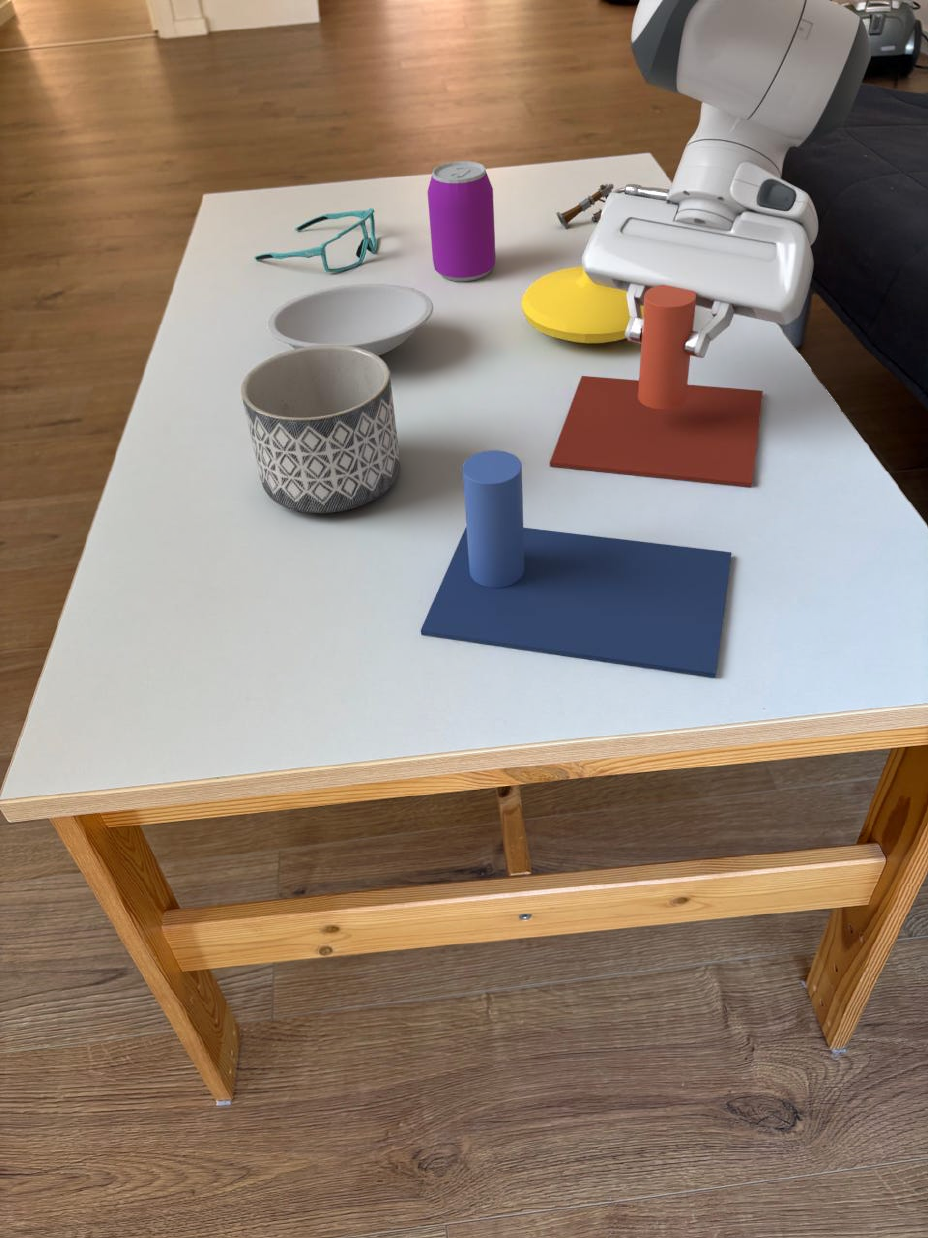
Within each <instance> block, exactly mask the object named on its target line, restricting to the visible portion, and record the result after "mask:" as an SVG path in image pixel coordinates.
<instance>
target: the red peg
mask: <svg viewBox="0 0 928 1238" xmlns="http://www.w3.org/2000/svg"><path fill="white" fill-rule="evenodd" d="M695 305H696V294H695V292H694V291H691V290H686V289H681V288H677V287H672V286H667V285H659V286H655V287H653V288H650V289H649V290H648V291H646V293H645V296H644V311H643V326H642V342H641V344H640V359H639V373H638V374H639V375H638V380H639V388H638V399H639V401H640V402H641V403H642V404H643V405H645V406H647V407H649V408H653V409H660V410H666V409H673V408H676V407H679V406H681V405H682V404H683V403H684V402H685V400H686V394H687V384H688V385H689V383H688V382H689V372H690V364H691V355H687V354H686V352H685V350H684V348H685V344H686V342H687V341H688V340H689V339H688V336H689V334H690V332H691V330H692V331H694V323H695V315H696V314H695V312H696V306H695Z"/></svg>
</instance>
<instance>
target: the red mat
mask: <svg viewBox="0 0 928 1238" xmlns="http://www.w3.org/2000/svg"><path fill="white" fill-rule="evenodd" d="M638 388H639V379H637V380H636V379H628V378H627V379H624V378H615V377H613V378H612V377H601V376H591V375H590V376H589V375H581V377H580V380H579V382H578V385H577V387H576V390H575V393H574V395H573V398H572V402H571V403H570V407H569V409H568V412H567V414H566V417H565V420H564V423H563V425H562V427H561V431H560V434H559V436H558V439H557V441H556V445H555V447H554V450H553V452H552V455H551V458H550V460H549V467H552V468H561V469H571V470H579V471H581V470H582V471H589V472H601V473H609V474H619V475H620V474H621V475H629V476H638V477H646V478H647V477H649V478H650V477H651V478H656V479H657V478H658V479H665V480H666V479H667V480H676V481H677V480H678V481H688V482H694V483H695V482H696V483H697V482H698V483H705V484H715V485H725V486H733V487H734V486H735V487H743V488H753V483H754V482H753V481H754V475H755V464H756V458H757V457H756V455H757V447H758V439H759V431H760V430H759V429H760V422H761V412H762V405H763V395H764V391H763V390H759V389H746V388H736V387H735V388H734V387H722V386H712V385H711V386H710V385H698V384H689V383H688V384H687V394H686V400H685V402H684V403H683V404H682V405H681V406H679V407H676V408H673V409H666V410H660V409H653V408H649V407H647V406H645V405H643V404H642V403H641V402H640V401H639V399H638Z"/></svg>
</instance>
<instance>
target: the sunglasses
mask: <svg viewBox="0 0 928 1238" xmlns="http://www.w3.org/2000/svg"><path fill="white" fill-rule="evenodd" d="M375 213H376V212H375V210H374V208H372V207H371V208H368V209H367V210H366V209H365V210H351V211H342V212H335V213H332V212H331V213H325V214H322V215H319V216H316V217H313V218H312V219H310V220H307V221H305V222H304V223H301V224H299V225H298V226H296V227H295V228H294V230H295V231H296V232H301V231H303V230H305V229H307V228H309V227H311V226H314V225H315V224H318V223H321V222H325V221H329V220H338V219H342V218H346V217H356V218H358V219H360V220H359V221H357V222H356V223H354V224H352V225H351V226H350V227H347V228H345V229H344V230H343V231H340V232H339V233H338V234H337V235H336V236H335V237H333V238H331V239H329V240H326V241H325V242H322V243H321V244H320V246H317V247H311V248H308V249H303V250H302V249H301V250H296V251H289V252H264V253H261V254H257V255H255V256H254V257H253V258H254V259H255V261H257V262H260V261H263V260H268V259H276V260H283V259H288V258H297V257H299V258H306V259H311V258H313V257H317V256H320V257H321V261H322V266H323V269H324V271H325V272H327V273H340V272H344V271H348V270H351V269H354V268H357V266H360V265H361V264H362V263H364V260H365V257H366V255H367V251H368V252H370V254H375V253H376V251H377V247H378V240H377V237H376V225H375V224H376V223H375V215H374V214H375ZM367 220H369V223H370V237H369V233H368V230H367V225H366V221H367ZM359 226H360V228H361V231H362V235H363V238H362V239H361V241H360V243H359V245H358V246H357V249H356V251H355V256H356V257H357V258H358V260H357V261H355V262H354V263H352V264H349V265H347V266H343V267H337V268H330V267H329V264H328V261H327V260H328V259H327V253H326V246H327V245H329V244H331V243H334V242H335V241H337V240H339V239H341V238H342V237H343V236H345V235H346V234H348V233H349V232H352V231H353V230H354V229H356V228H357V227H359Z"/></svg>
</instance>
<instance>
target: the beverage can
mask: <svg viewBox="0 0 928 1238" xmlns="http://www.w3.org/2000/svg"><path fill="white" fill-rule="evenodd" d="M431 173H432V174H431V177H430V180H429V184H428V188H427V203H428V215H429V217H428V218H429V227H430V238H431V239H430V241H431V253H432V263H433V267H434V271H435V272H437V273H438V274H439V275H440V276H441V277H442V278H443V279H446V280H448V281H453V282H472V281H476V280H479V279H481V278H484V277H486V276H487V275H488V274H489V273H490V272H491V271H492V270H493V269H494V267H495V265H496V234H495V233H496V232H495V210H494V188H493V185H492V182H491V180H490V178H489V175H488V173H487V169H486V167H485V165H483V164H482V163H479V162H476V161H469V160H459V161H458V160H457V161H450V162H444V163H443V164H440V165H438V166H435V167H434V168H433V170H432V172H431Z"/></svg>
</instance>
